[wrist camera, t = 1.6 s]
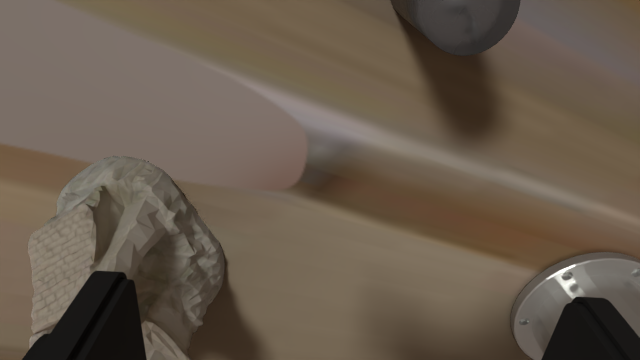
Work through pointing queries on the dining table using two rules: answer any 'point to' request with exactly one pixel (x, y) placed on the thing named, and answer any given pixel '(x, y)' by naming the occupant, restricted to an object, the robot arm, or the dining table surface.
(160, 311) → the grey rough lump
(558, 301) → the robot arm
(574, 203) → the dining table surface
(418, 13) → the metal pin
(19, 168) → the dining table surface
